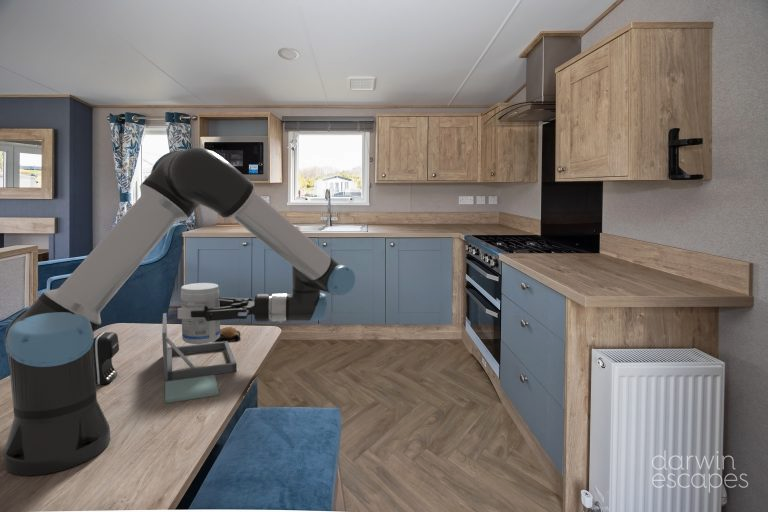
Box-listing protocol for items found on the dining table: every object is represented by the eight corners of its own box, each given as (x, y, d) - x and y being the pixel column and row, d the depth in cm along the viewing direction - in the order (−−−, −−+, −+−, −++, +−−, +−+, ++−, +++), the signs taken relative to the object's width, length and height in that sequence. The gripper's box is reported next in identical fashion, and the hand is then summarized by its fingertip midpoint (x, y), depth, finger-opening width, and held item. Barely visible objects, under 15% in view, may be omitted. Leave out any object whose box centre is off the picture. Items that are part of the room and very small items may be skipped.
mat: (165, 403, 98) (165, 400, 98) (165, 384, 108) (165, 381, 108) (218, 394, 103) (218, 392, 103) (214, 377, 113) (214, 374, 113)
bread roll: (212, 336, 148) (211, 325, 147) (239, 333, 151) (238, 322, 151) (213, 346, 138) (213, 334, 138) (242, 342, 141) (242, 331, 141)
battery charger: (112, 385, 107) (109, 338, 106) (94, 386, 106) (91, 339, 105) (122, 373, 114) (119, 329, 112) (105, 374, 113) (102, 330, 112)
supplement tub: (203, 332, 128) (202, 281, 127) (228, 337, 124) (227, 284, 123) (173, 341, 120) (172, 286, 118) (199, 347, 116) (198, 290, 114)
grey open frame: (164, 381, 110) (162, 333, 108) (165, 354, 128) (163, 313, 126) (236, 371, 117) (235, 326, 116) (227, 347, 135) (226, 308, 133)
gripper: (267, 332, 114) (171, 334, 110) (272, 311, 135) (193, 312, 132) (267, 303, 113) (171, 304, 109) (272, 286, 135) (192, 286, 131)
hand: (183, 308), depth 120 cm, fingers closed on supplement tub, 9 cm apart
